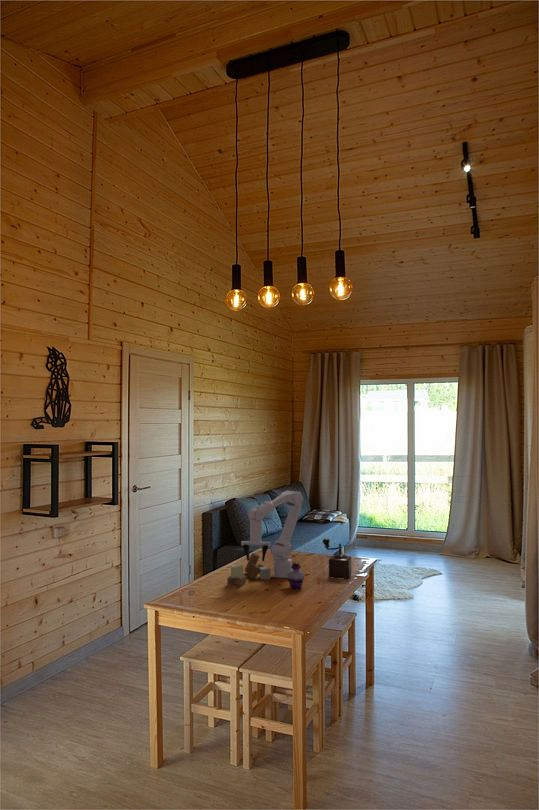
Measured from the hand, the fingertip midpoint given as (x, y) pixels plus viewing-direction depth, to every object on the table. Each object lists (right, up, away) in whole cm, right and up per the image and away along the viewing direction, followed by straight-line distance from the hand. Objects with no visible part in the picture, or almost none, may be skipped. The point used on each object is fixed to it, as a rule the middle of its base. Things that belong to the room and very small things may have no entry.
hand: (255, 560), depth 268 cm
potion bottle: (+20, -10, -12) cm, 25 cm away
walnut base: (-9, -10, -7) cm, 15 cm away
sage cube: (-9, -6, -6) cm, 12 cm away
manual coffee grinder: (+41, -11, +11) cm, 44 cm away
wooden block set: (-1, -11, +12) cm, 16 cm away
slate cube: (+5, -11, +6) cm, 13 cm away
